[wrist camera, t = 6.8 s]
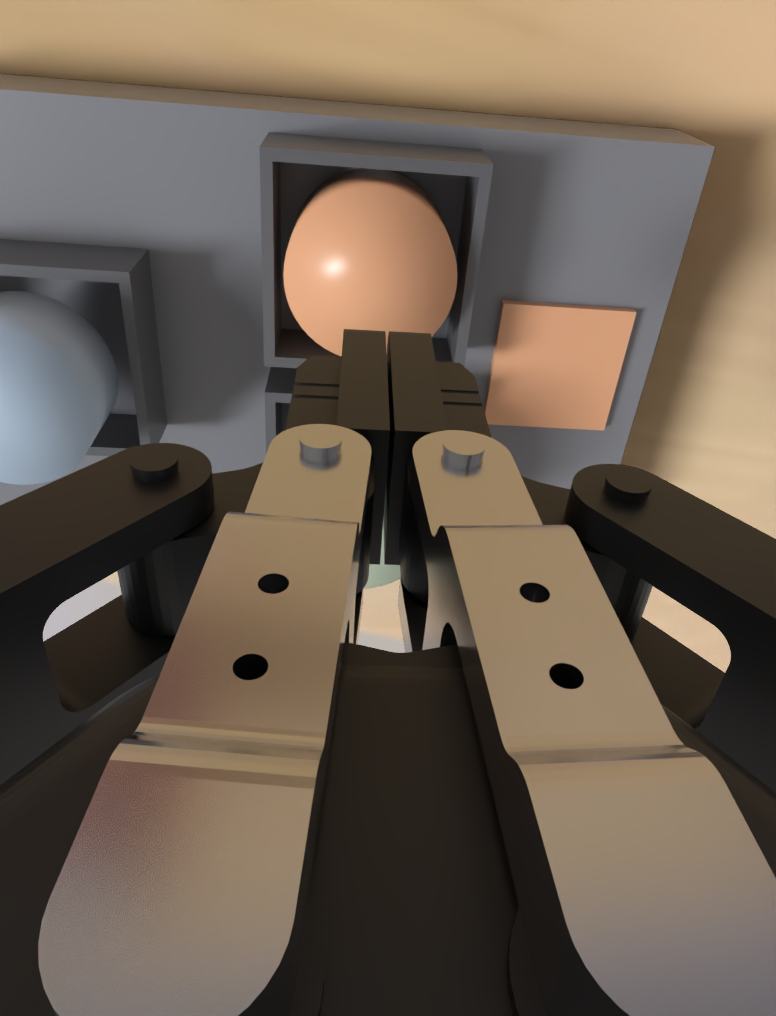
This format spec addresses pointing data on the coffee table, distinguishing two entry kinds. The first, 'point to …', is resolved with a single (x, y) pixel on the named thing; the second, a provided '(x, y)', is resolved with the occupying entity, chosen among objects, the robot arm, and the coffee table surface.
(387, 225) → the terracotta button
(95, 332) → the slate button
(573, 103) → the coffee table surface
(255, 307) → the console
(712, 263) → the coffee table surface
